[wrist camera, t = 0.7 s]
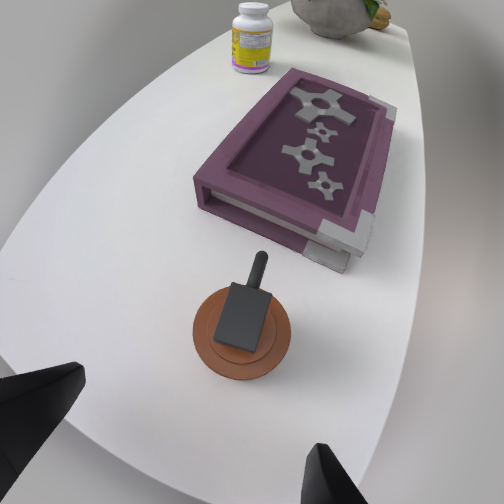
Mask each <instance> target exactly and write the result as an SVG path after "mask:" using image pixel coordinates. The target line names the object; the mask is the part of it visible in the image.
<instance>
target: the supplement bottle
mask: <svg viewBox="0 0 504 504" xmlns="http://www.w3.org/2000/svg"><path fill="white" fill-rule="evenodd" d="M239 12H240V16H238V17H236V18H235V19H234V20H233V23H232V25H233V26H232V66H233V68H234V69H236V70H237V71H239V72H243V73H261V72H264V71H266V70H267V69H268V68H269V64H270V54H271V43H272V33H273V21H272V20H271V19H270V18H269V17H267V14H268V12H269V6H268V5H267V4H263V3H255V2H247V3H241V4H239Z"/></svg>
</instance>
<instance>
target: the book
mask: <svg viewBox="0 0 504 504" xmlns="http://www.w3.org/2000/svg"><path fill="white" fill-rule="evenodd" d="M396 112H397V108H396V107H394V106H392V105H390V104H388V103H385V102H383V101H381V100H379V99H377V98H375V97H372V96H368V95H366V94H363V93H361V92H358V91H356V90H354V89H351V88H349V87H346V86H344V85H341V84H338V83H336V82H333V81H330V80H327V79H325V78H322V77H319V76H316V75H313V74H310V73H307V72H304V71H300V70H297V69H294V68H291V69H290V70H289V71H288V72H287V73H286V74H285V75H284V76H283V77H282V78H281V79H280V80H279V81H278V82H277V83H276V84H275V85H274V86H273V87H272V88H271V89H270V90H269V91H268V92H267V93H266V94H265V95H264V96H263V97H262V99H261V100H260V101H259V102H258V103H257V104H256V105H255V106H254V107H253V108H252V109H251V110H250V111H249V112H248V113H247V114H246V116H245V117H244V118H243V119H242V120H241V121H240V122H239V123H238V124H237V125H236V127H235V128H234V129H233V130H232V131H231V132H230V133H229V134H228V136H227V137H226V138H225V139H224V140H223V141H222V142H221V144H220V145H219V146H218V147H217V148H216V150H215V151H214V152H213V153H212V154H211V155H210V157H209V158H208V159H207V160H206V161H205V163H204V164H203V165H202V166H201V168H200V169H199V170H198V171H197V172H196V174H195V175H194V176H193V180H194V186H195V191H196V197H197V202H198V207H199V208H201V209H204V210H206V211H208V212H210V213H213V214H215V215H217V216H219V217H222V218H224V219H226V220H228V221H231V222H233V223H235V224H237V225H240V226H242V227H244V228H246V229H249V230H251V231H253V232H255V233H257V234H260V235H262V236H264V237H266V238H268V239H271V240H273V241H275V242H277V243H279V244H282V245H284V246H286V247H288V248H290V249H293V250H295V251H297V252H299V253H301V254H302V256H304V257H307V258H309V259H311V260H313V261H315V262H317V263H319V264H322V265H324V266H326V267H328V268H330V269H332V270H334V271H337V272H339V273H341V274H342V273H343V272H344V270H345V268H346V265H347V262H348V259H349V257H350V254H353V255H355V256H358V257H360V258H361V257H362V256H363V254H364V253H365V251H366V247H367V244H368V240H369V237H370V233H371V230H372V226H373V222H374V219H375V215H374V212H375V208H376V205H377V201H378V197H379V192H380V188H381V184H382V180H383V175H384V171H385V166H386V161H387V157H388V152H389V146H390V141H391V136H392V130H393V125H394V123H395V119H396Z"/></svg>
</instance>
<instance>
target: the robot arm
mask: <svg viewBox="0 0 504 504" xmlns="http://www.w3.org/2000/svg"><path fill="white" fill-rule="evenodd" d="M85 383H86V378H85V370H84V366H83V365H81V364H79V363H77V362H71V363H67V364H63V365H58V366H54V367H50V368H46V369H42V370H37V371H33V372H28V373H24V374H19V375H14V376H9V377H4V378H0V502H1V500H2V499H3V498H4V496H5V495H6V493H7V492H8V490H9V489H10V488H11V487H12V485H13V483H14V482H15V481H16V480H17V478H18V477H19V475H20V474H21V472H22V471H23V470H24V468H25V467H26V466H27V464H28V463H29V462H30V460H31V459H32V458H33V456H34V455H35V454H36V453H37V451H38V450H39V449H40V447H41V446H42V445H43V443H44V442H45V441H46V439H47V438H48V437H49V436H50V434H51V433H52V432H53V431H54V429H55V428H56V427H57V425H58V424H59V423H60V422H61V420H62V419H63V418H64V417H65V416H66V414H67V413H68V411H69V410H70V408H71V407H72V405H73V404H74V402H75V400H76V399H77V397H78V396H79V394H80V392H81V391H82V389H83V388H84V386H85ZM301 504H368V503H367V502H366V500H365V499H364V497H363V496H362V494H361V493H360V492H359V490H358V489H357V487H356V486H355V484H354V483H353V481H352V480H351V478H350V477H349V476H348V474H347V473H346V471H345V470H344V468H343V467H342V465H341V464H340V462H339V461H338V459H337V458H336V456H335V455H334V453H333V452H332V450H331V449H330V447H329V446H328V445H327V444H323V443H316V444H315V445H314V447H313V448H312V450H311V451H310V453H309V454H308V456H307V459H306V465H305V472H304V478H303V485H302V491H301Z"/></svg>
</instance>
